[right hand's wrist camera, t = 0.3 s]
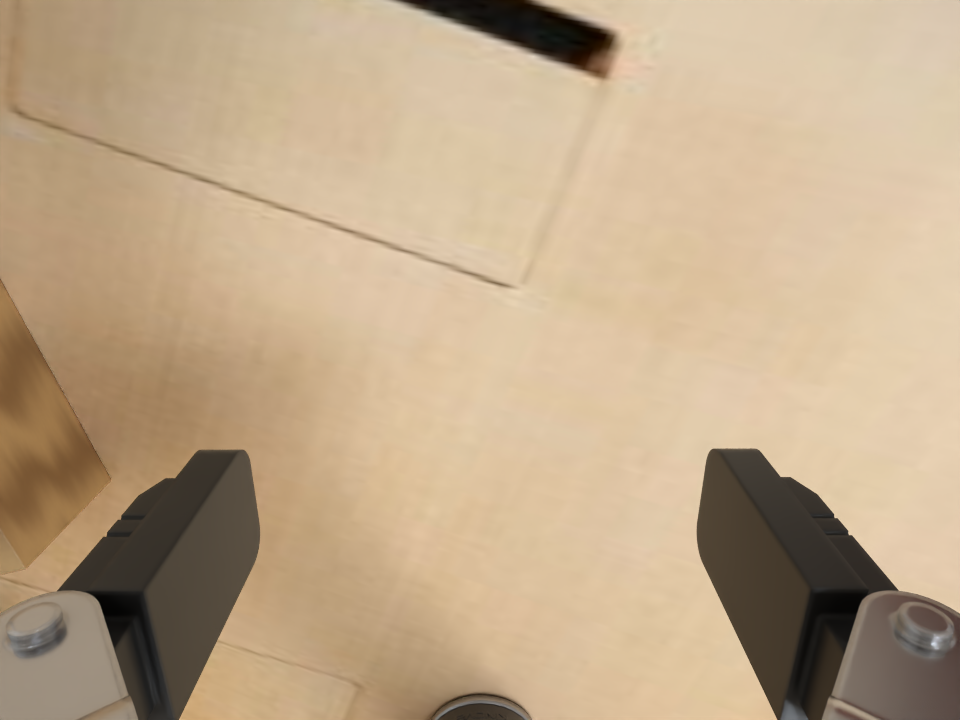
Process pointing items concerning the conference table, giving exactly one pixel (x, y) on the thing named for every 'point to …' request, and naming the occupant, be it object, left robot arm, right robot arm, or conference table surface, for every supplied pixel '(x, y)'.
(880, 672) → the right robot arm
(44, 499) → the box
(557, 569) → the conference table surface
